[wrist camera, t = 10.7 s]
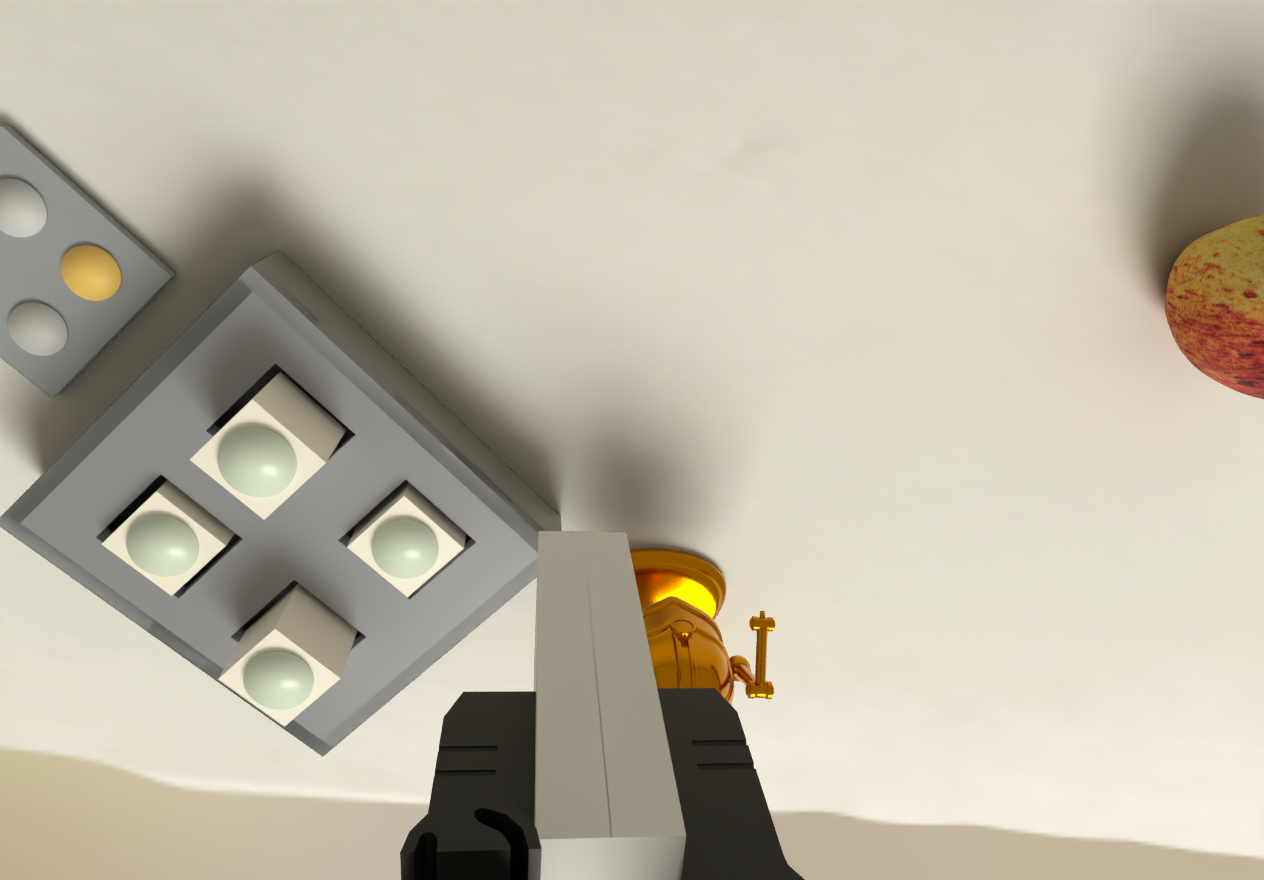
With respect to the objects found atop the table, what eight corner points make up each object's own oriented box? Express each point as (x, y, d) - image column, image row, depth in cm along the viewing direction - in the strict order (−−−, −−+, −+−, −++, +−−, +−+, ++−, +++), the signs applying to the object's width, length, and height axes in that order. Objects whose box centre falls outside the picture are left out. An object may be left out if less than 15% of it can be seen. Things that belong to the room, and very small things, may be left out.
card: (-111, 260, 40) (-123, 263, 39) (9, 125, 38) (-1, 126, 37) (58, 394, 43) (50, 399, 42) (176, 274, 41) (169, 277, 40)
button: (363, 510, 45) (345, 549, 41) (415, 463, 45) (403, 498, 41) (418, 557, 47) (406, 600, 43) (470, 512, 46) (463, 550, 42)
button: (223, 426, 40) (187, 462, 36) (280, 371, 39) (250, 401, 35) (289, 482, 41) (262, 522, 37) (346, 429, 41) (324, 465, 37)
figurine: (736, 527, 49) (793, 648, 38) (708, 680, 53) (752, 832, 42) (590, 517, 48) (605, 639, 37) (572, 675, 52) (580, 829, 41)
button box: (46, 483, 44) (-6, 522, 40) (280, 250, 41) (250, 265, 37) (340, 703, 51) (322, 756, 47) (560, 516, 48) (562, 555, 44)
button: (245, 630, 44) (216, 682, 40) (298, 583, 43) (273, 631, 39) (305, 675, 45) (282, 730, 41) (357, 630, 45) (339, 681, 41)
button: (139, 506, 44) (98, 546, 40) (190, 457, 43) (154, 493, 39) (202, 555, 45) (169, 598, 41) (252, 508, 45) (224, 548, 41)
